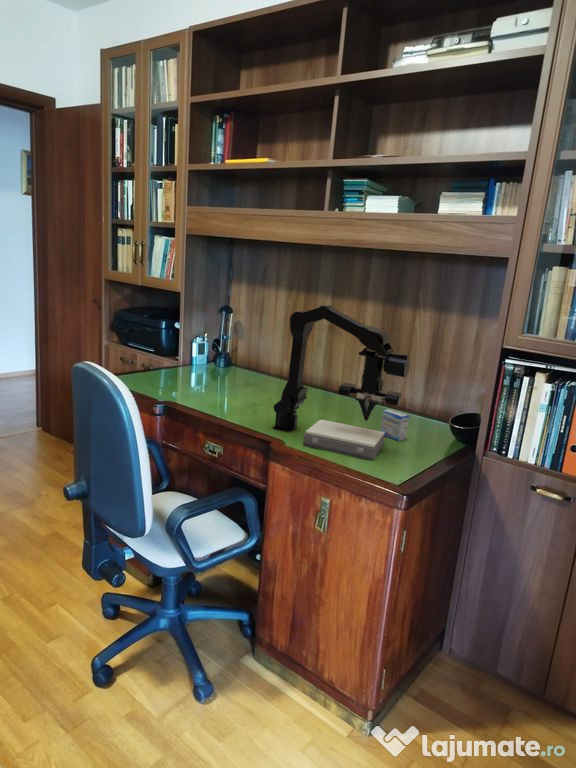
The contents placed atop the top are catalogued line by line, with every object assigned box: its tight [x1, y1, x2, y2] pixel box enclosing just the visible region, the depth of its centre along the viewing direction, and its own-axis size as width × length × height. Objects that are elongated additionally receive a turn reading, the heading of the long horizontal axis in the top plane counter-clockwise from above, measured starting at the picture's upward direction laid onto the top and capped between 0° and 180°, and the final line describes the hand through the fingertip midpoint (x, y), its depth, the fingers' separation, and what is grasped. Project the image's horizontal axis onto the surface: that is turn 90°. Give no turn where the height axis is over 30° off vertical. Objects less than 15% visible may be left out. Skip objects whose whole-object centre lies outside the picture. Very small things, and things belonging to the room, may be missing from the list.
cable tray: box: [302, 433, 385, 461], centre depth 165 cm, size 22×16×4 cm
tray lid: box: [305, 419, 385, 448], centre depth 165 cm, size 22×14×1 cm, turn 68°
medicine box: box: [379, 408, 410, 442], centre depth 176 cm, size 8×4×9 cm, turn 44°
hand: (366, 420), depth 164 cm, fingers closed
